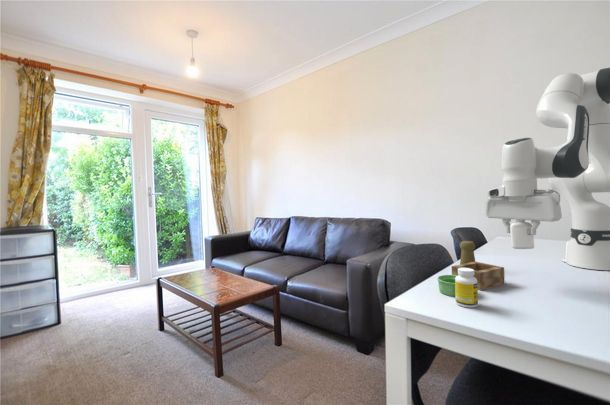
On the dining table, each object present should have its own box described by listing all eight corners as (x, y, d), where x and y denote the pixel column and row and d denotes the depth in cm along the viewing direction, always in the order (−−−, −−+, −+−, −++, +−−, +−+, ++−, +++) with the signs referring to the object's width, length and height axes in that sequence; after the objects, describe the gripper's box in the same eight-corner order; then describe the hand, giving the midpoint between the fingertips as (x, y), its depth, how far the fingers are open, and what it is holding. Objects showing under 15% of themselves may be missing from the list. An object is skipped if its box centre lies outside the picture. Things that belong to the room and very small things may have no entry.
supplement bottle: (478, 309, 75) (476, 272, 75) (454, 306, 78) (453, 270, 78) (478, 302, 80) (477, 267, 79) (456, 299, 83) (455, 266, 82)
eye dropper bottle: (531, 250, 87) (528, 210, 87) (510, 248, 91) (507, 211, 91) (535, 247, 90) (532, 209, 89) (514, 246, 94) (511, 210, 94)
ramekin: (466, 300, 82) (465, 285, 82) (433, 294, 88) (433, 280, 88) (473, 291, 88) (473, 277, 88) (443, 286, 95) (442, 273, 94)
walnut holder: (475, 276, 103) (475, 261, 103) (504, 284, 94) (504, 267, 93) (452, 282, 98) (451, 266, 98) (480, 290, 89) (479, 273, 89)
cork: (460, 270, 111) (459, 242, 111) (458, 266, 117) (457, 239, 117) (478, 271, 109) (477, 242, 109) (475, 267, 115) (474, 240, 114)
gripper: (565, 188, 82) (567, 236, 82) (493, 190, 100) (495, 229, 101) (553, 189, 79) (555, 239, 80) (481, 191, 98) (483, 231, 98)
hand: (520, 233), depth 90 cm, fingers closed on eye dropper bottle, 5 cm apart
